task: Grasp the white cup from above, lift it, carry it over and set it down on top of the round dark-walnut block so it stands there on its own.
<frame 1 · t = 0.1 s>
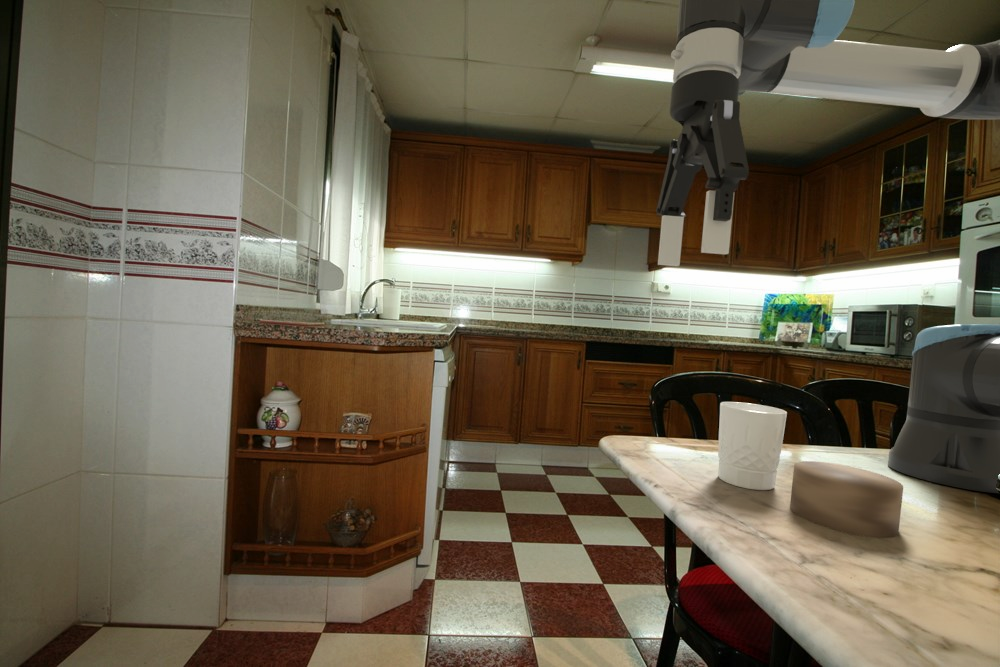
hand: (689, 260, 61), 28 cm above the table, tool pointing down, fingers open, 13 cm apart
white cup: (745, 483, 67), on the table
walnut block: (841, 519, 56), on the table
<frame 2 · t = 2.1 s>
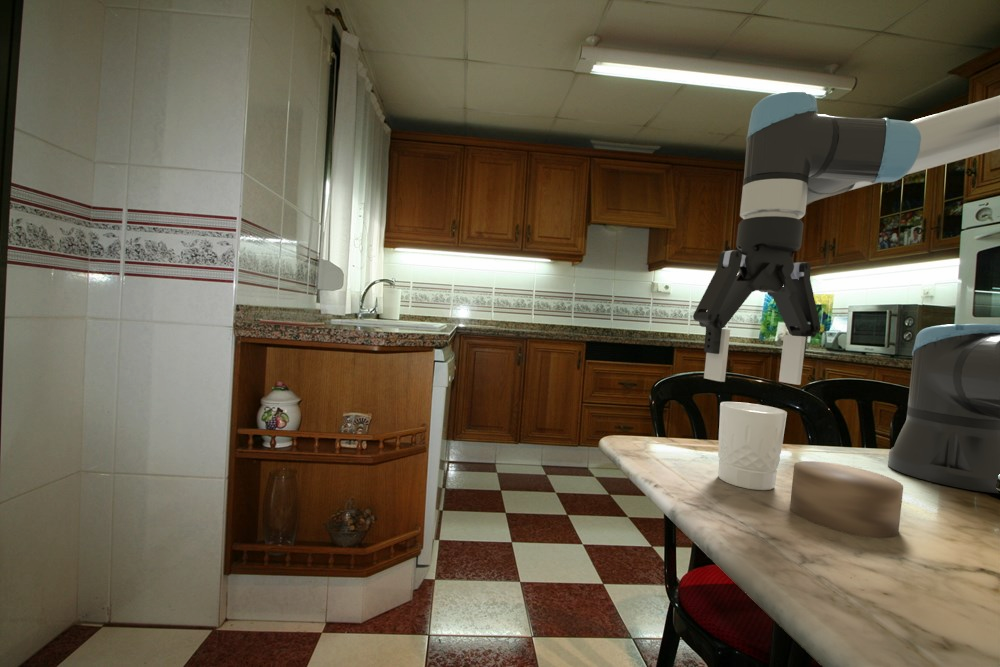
hand: (753, 382, 66), 13 cm above the table, tool pointing down, fingers open, 13 cm apart
nothing on the table moved.
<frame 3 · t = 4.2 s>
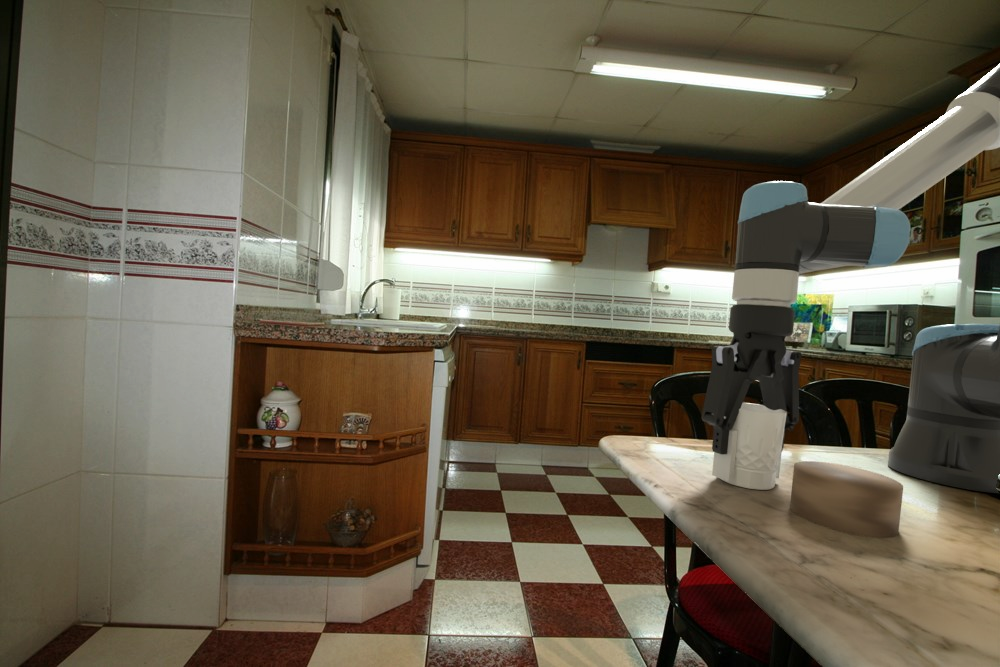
hand: (745, 476, 67), 1 cm above the table, tool pointing down, fingers closed on white cup, 8 cm apart
white cup: (745, 483, 67), on the table, touching gripper
everything else where it was.
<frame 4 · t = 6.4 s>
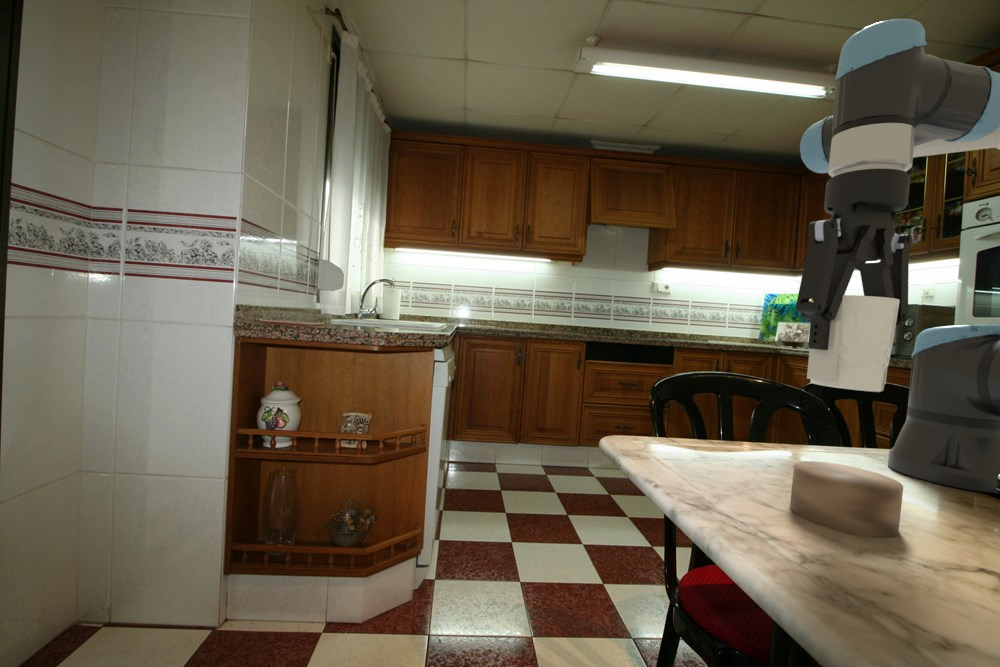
hand: (846, 381, 56), 15 cm above the table, tool pointing down, fingers closed on white cup, 8 cm apart
white cup: (845, 389, 56), point 14 cm above the table, touching gripper
everything else where it was.
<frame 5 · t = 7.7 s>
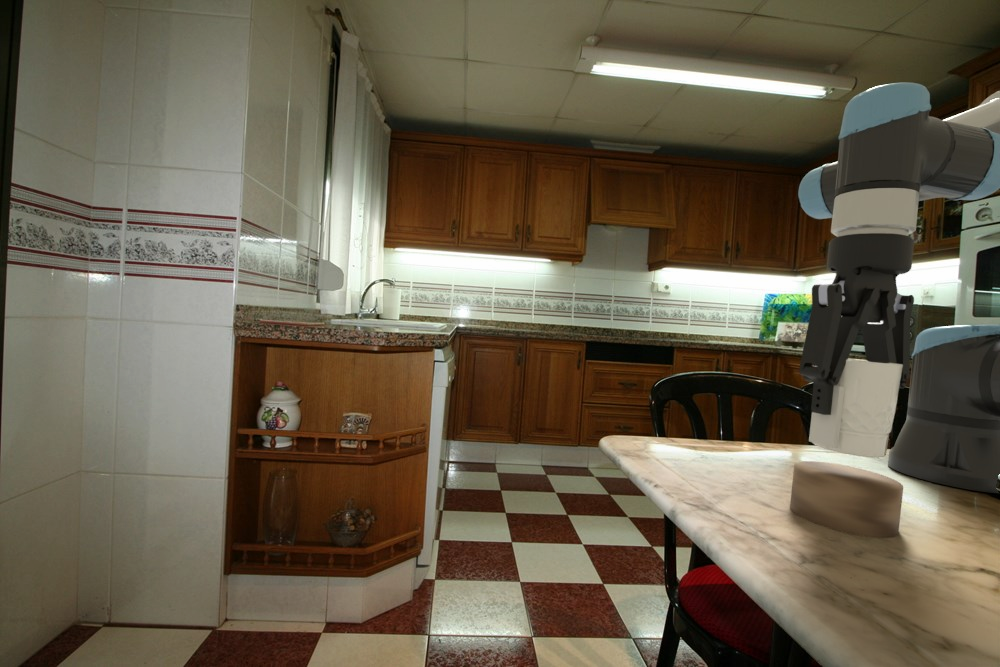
hand: (848, 443, 56), 8 cm above the table, tool pointing down, fingers closed on white cup, 8 cm apart
white cup: (847, 451, 56), point 7 cm above the table, touching gripper
everything else where it was.
when the fingers open (7 cm above the table, at t = 8.8 s): white cup drops 1 cm, resting on walnut block.
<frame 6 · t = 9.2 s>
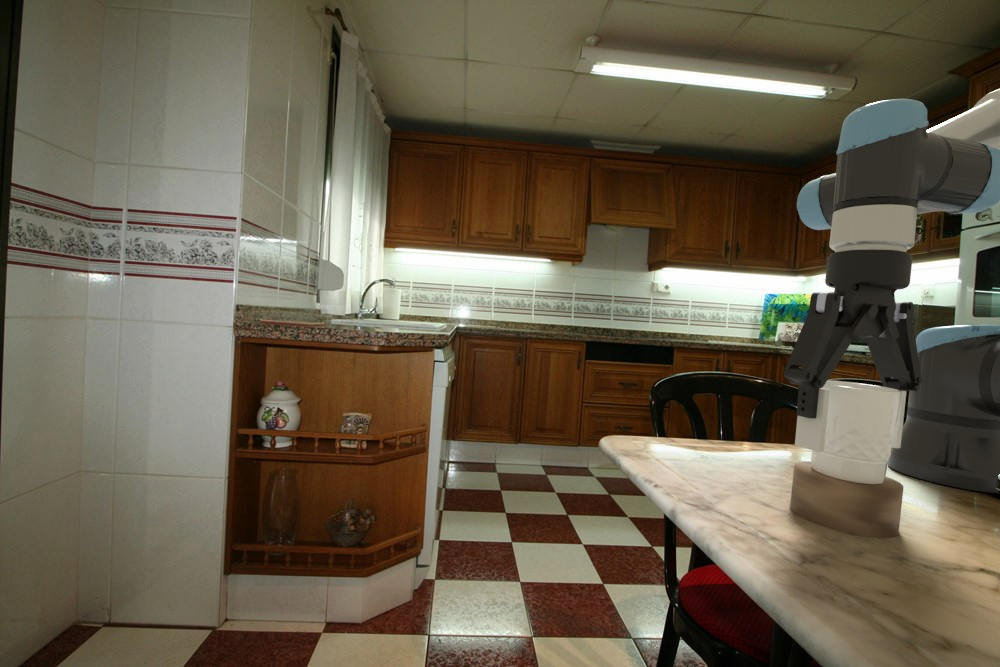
hand: (848, 447, 56), 8 cm above the table, tool pointing down, fingers open, 12 cm apart
white cup: (846, 476, 56), point 5 cm above the table, touching walnut block
walnut block: (841, 519, 56), on the table, touching white cup
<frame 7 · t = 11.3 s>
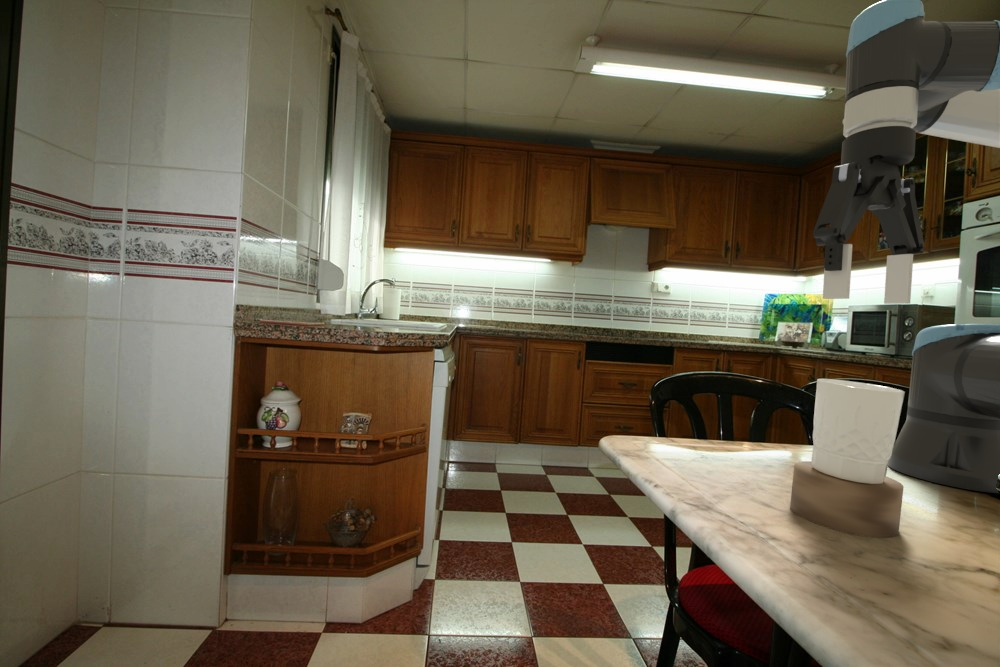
hand: (867, 301, 65), 25 cm above the table, tool pointing down, fingers open, 13 cm apart
nothing on the table moved.
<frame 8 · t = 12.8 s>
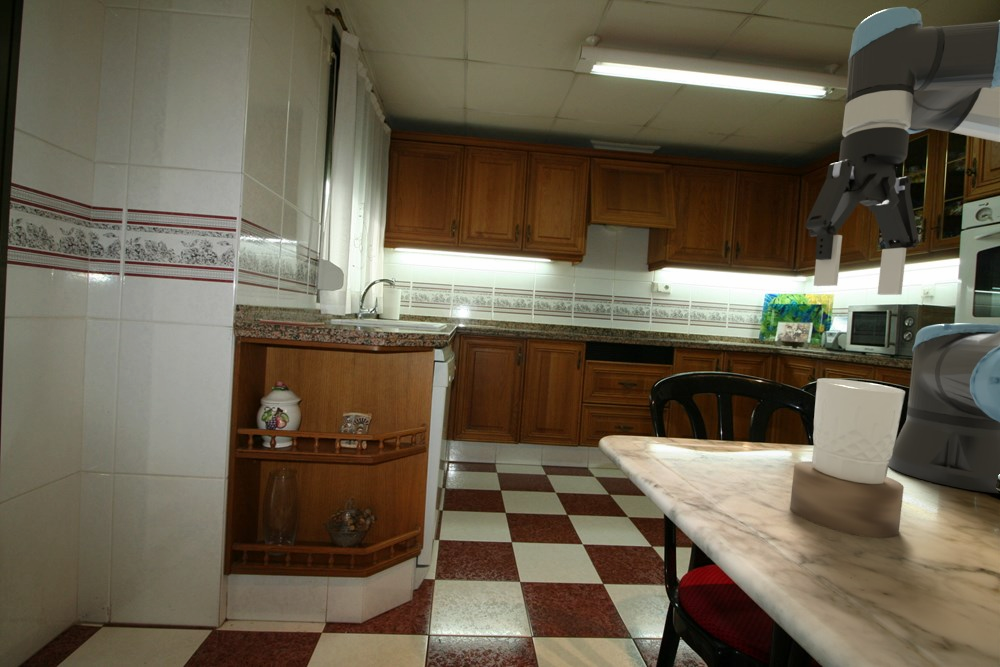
hand: (858, 290, 70), 27 cm above the table, tool pointing down, fingers open, 13 cm apart
nothing on the table moved.
at the end: white cup 0.2 cm from the walnut block (horizontally); white cup point 4.7 cm above the table; white cup tilted 2° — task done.
